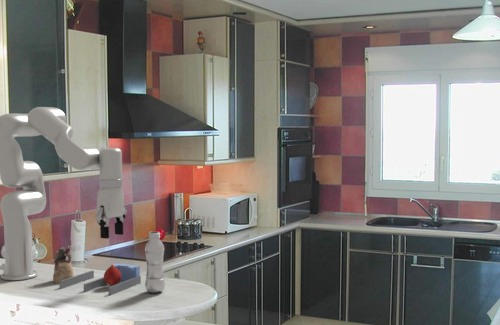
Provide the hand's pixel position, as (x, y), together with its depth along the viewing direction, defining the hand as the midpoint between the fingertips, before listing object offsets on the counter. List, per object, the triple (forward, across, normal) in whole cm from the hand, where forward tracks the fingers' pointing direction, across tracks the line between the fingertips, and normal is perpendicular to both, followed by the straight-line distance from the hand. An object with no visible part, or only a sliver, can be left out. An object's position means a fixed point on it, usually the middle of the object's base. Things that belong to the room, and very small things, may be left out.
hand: (112, 235), depth 208 cm
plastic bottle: (+18, 0, +17) cm, 25 cm away
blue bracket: (+18, -8, 0) cm, 19 cm away
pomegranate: (+18, 0, 0) cm, 18 cm away
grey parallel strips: (+18, 0, -5) cm, 19 cm away
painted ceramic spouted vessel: (+18, 0, -22) cm, 29 cm away
